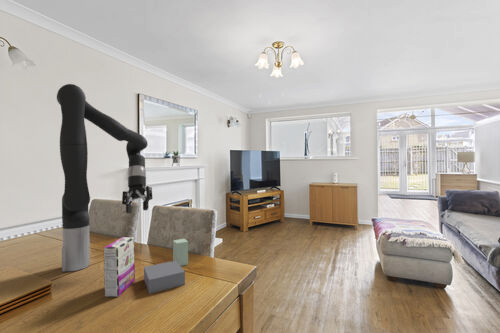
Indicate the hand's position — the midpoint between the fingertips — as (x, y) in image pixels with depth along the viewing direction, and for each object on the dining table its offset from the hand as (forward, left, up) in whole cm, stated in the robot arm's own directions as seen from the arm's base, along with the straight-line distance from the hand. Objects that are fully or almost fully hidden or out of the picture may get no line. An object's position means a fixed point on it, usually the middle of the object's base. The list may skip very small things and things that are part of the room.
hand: (137, 211), depth 109 cm
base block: (+5, -26, -22) cm, 35 cm away
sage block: (+15, -13, -22) cm, 30 cm away
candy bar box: (-9, -23, -22) cm, 33 cm away
